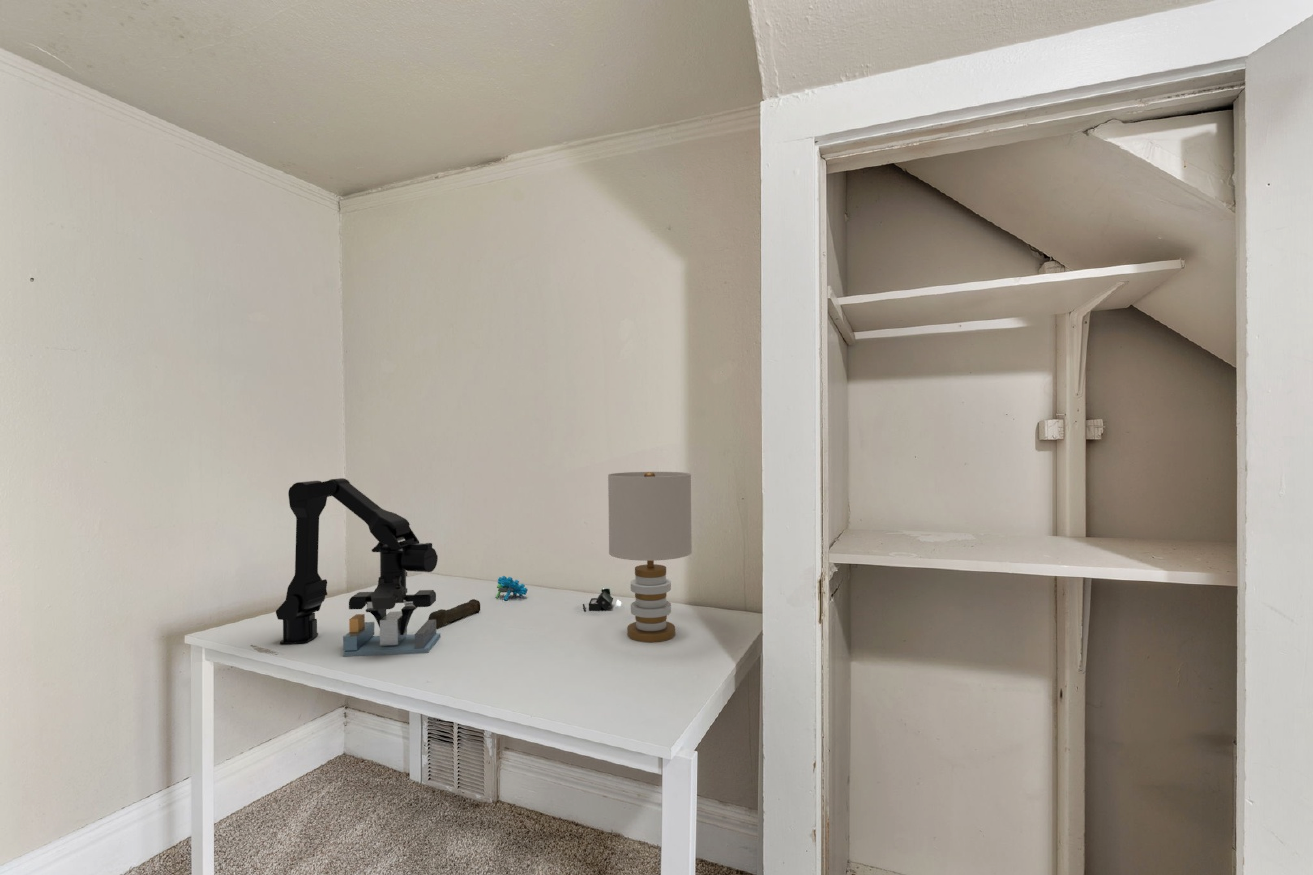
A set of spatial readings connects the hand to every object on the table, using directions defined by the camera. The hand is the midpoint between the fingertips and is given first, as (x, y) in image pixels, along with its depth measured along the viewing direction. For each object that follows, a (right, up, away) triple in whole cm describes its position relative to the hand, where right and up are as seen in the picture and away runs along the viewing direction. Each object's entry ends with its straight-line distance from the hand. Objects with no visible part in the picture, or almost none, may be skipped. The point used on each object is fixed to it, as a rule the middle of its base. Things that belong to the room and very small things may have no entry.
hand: (393, 634), depth 145 cm
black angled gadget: (+47, -3, +31) cm, 56 cm away
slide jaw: (-8, -1, -1) cm, 8 cm away
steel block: (0, -1, 0) cm, 1 cm away
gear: (+18, -3, +43) cm, 47 cm away
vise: (0, -3, 0) cm, 3 cm away
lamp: (+62, -2, +7) cm, 63 cm away
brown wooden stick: (+8, -3, +20) cm, 22 cm away
